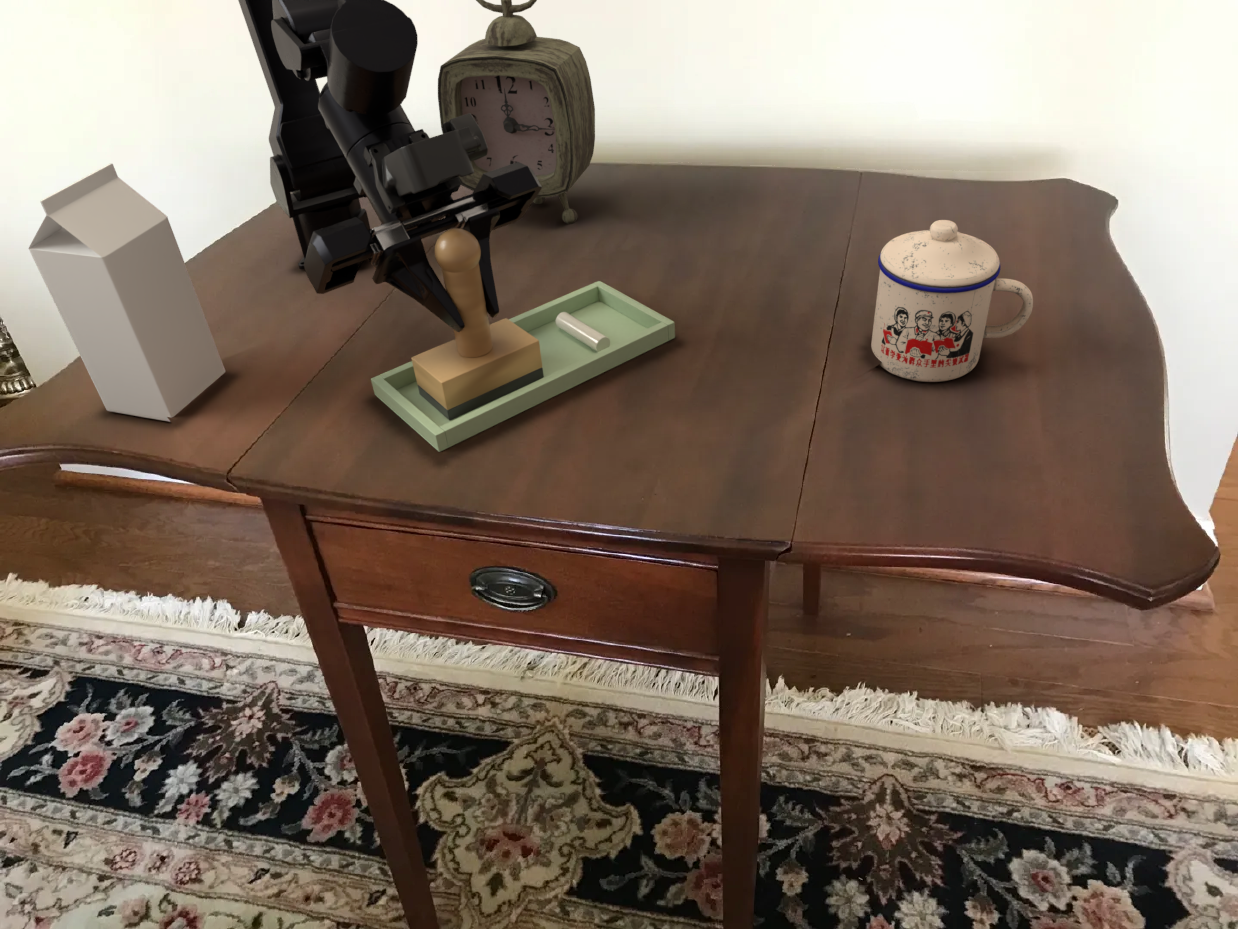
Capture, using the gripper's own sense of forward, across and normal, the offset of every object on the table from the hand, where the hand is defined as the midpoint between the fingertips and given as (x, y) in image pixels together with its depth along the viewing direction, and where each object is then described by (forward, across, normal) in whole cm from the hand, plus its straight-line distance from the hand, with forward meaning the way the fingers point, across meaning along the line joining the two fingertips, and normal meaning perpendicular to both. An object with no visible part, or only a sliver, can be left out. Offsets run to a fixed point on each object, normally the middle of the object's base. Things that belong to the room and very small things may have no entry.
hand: (478, 322), depth 74 cm
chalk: (+3, +10, +5) cm, 12 cm away
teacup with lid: (+20, +31, -9) cm, 38 cm away
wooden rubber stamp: (+4, 0, +6) cm, 7 cm away
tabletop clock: (-15, +24, +26) cm, 38 cm away
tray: (+4, +5, +6) cm, 9 cm away
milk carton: (-9, -20, +20) cm, 29 cm away
